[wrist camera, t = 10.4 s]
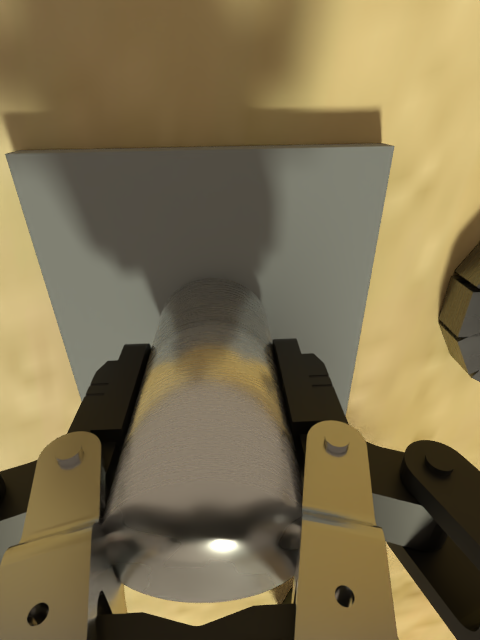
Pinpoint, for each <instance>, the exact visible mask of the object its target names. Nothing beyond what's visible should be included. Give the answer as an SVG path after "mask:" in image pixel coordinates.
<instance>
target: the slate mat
mask: <svg viewBox="0 0 480 640" xmlns="http://www.w3.org/2000/svg"><path fill="white" fill-rule="evenodd" d="M393 151H394V146H392V145H387V144H383V143H372V144H320V145H269V146H218V147H167V148H115V149H64V150H20V151H16V152H11V153H7V154H5V155H6V158H7V162H8V165H9V168H10V171H11V175H12V178H13V181H14V184H15V187H16V191H17V194H18V197H19V200H20V204H21V207H22V210H23V213H24V217H25V220H26V223H27V226H28V229H29V233H30V236H31V239H32V242H33V246H34V249H35V252H36V255H37V258H38V262H39V265H40V268H41V271H42V275H43V278H44V281H45V284H46V288H47V291H48V294H49V297H50V300H51V304H52V307H53V310H54V313H55V317H56V320H57V323H58V326H59V330H60V333H61V336H62V339H63V342H64V346H65V349H66V352H67V355H68V359H69V362H70V365H71V368H72V371H73V375H74V378H75V381H76V384H77V388H78V391H79V394H80V397H81V401H83V399H84V397H85V396H86V392H87V390H88V388H89V386H90V385H91V381H92V379H93V377H94V375H95V373H96V371H97V370H98V369H99V368H100V367H102V366H103V365H104V364H105V363H106V362H107V361H114V360H118V359H119V356H120V354H121V351H122V349H123V347H124V345H125V344H144V343H149V344H150V346H151V347H152V344H153V340H154V337H155V333H156V330H157V327H158V323H159V320H160V316H161V313H162V310H163V307H164V305H165V303H166V302H167V300H168V299H169V297H170V296H171V295H172V294H173V293H174V292H175V291H176V290H178V289H179V288H181V287H182V286H184V285H186V284H188V283H190V282H193V281H195V280H199V279H204V278H222V279H228V280H231V281H234V282H237V283H239V284H241V285H243V286H245V287H246V288H248V289H249V290H250V291H252V292H253V293H254V294H255V295H256V296H257V297H258V299H259V300H260V301H261V303H262V305H263V307H264V309H265V312H266V316H267V320H268V325H269V330H270V334H271V339H272V342H273V339H289V338H296V339H297V341H298V345H299V348H300V351H301V354H308V353H314V354H315V355H316V356H317V357H318V358H319V359H320V360H321V361H322V362H324V364H325V367H326V369H327V372H328V374H329V377H330V379H331V382H332V384H333V387H334V389H335V392H336V394H337V397H338V399H339V402H340V404H341V407H342V409H343V412H344V414H345V416H346V411H347V405H348V400H349V394H350V389H351V383H352V378H353V372H354V367H355V361H356V355H357V350H358V344H359V339H360V333H361V328H362V322H363V317H364V311H365V306H366V300H367V295H368V289H369V284H370V278H371V273H372V267H373V262H374V256H375V250H376V245H377V239H378V234H379V228H380V223H381V217H382V212H383V206H384V201H385V195H386V190H387V184H388V179H389V173H390V168H391V162H392V157H393Z"/></svg>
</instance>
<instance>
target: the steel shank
mask: <svg viewBox="0 0 480 640" xmlns="http://www.w3.org/2000/svg"><path fill="white" fill-rule="evenodd" d="M302 494H303V482H302V478H301V473H300V468H299V464H298V459H297V454H296V450H295V445H294V441H293V437H292V435H291V430H290V425H289V420H288V416H287V411H286V406H285V402H284V397H283V392H282V388H281V383H280V378H279V374H278V369H277V364H276V360H275V355H274V350H273V346H272V339H271V334H270V330H269V325H268V320H267V316H266V312H265V309H264V307H263V305H262V303H261V301H260V300H259V299H258V297H257V296H256V295H255V294H254V293H253V292H252V291H250V290H249V289H248V288H246V287H245V286H243V285H241V284H239V283H237V282H234V281H231V280H228V279H222V278H204V279H199V280H195V281H193V282H190V283H188V284H186V285H184V286H182V287H181V288H179V289H178V290H176V291H175V292H174V293H173V294H172V295H171V296H170V297H169V299H168V300H167V302H166V303H165V305H164V307H163V310H162V313H161V316H160V320H159V323H158V327H157V330H156V333H155V337H154V340H153V344H152V347H151V351H150V354H149V358H148V361H147V365H146V368H145V372H144V375H143V379H142V382H141V385H140V389H139V392H138V396H137V399H136V403H135V406H134V410H133V413H132V417H131V420H130V424H129V427H128V431H127V434H126V438H125V441H124V444H123V448H122V451H121V455H120V458H119V462H118V465H117V469H116V472H115V476H114V479H113V483H112V486H111V490H110V493H109V496H108V500H107V503H106V507H105V510H104V515H103V520H102V529H103V532H104V535H105V543H106V550H107V554H108V557H109V560H110V563H111V566H112V568H113V571H114V574H115V577H116V578H120V580H121V583H122V584H124V585H126V586H128V587H129V588H131V589H133V590H136V591H138V592H141V593H143V594H146V595H149V596H153V597H157V598H161V599H165V600H171V601H178V602H189V603H213V602H224V601H231V600H237V599H242V598H246V597H250V596H254V595H257V594H260V593H263V592H266V591H268V590H271V589H273V588H275V587H277V586H279V585H281V584H283V583H284V582H286V581H288V580H289V579H290V578H292V577H293V576H294V572H295V568H296V560H297V551H298V543H299V532H300V522H301V514H302Z"/></svg>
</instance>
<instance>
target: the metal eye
mask: <svg viewBox="0 0 480 640" xmlns="http://www.w3.org/2000/svg"><path fill="white" fill-rule="evenodd" d="M455 272H457V273H458V274H459V275H461V276H451V279H450V283H449V286H448V289H447V293H446V296H445V299H444V303H443V306H442V309H441V313H440V316H439V319H440V320H441V321H442V322H440V323H439V325H440V328H441V331H442V334H443V336H444V339H445V342H446V344H447V347H448V350H449V353H450V355H451V356H452V357H453V358H454V359H455V360H456V361H457V362H458V363H459V365H460V366H461V367H462V368H463V369H464V370H465V371H466V372H467V373H468V374H469V375H470V376H471V378H473V379H475V380H477V381H479V382H480V243H479V244H478V245H477V246H476V248H475V249H474V250H473V251H472V252H471V253H470V254H469V255H468V257H467V258H466V259H465V260H464V261H463V262H462V263H461V264H460V265H459V267H458V268H457V269H456V270H455Z"/></svg>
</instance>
